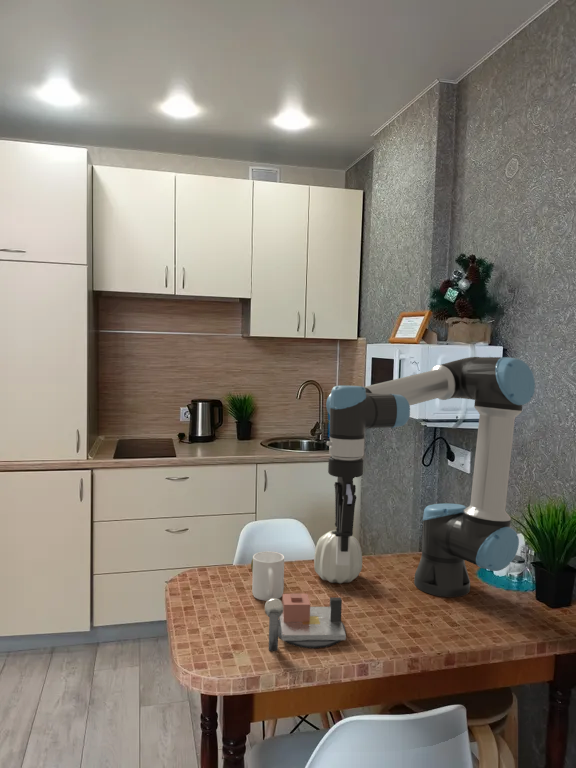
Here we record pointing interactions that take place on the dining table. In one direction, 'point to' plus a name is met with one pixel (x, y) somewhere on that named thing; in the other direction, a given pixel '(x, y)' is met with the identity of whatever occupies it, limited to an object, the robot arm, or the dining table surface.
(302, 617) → the cover
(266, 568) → the mug
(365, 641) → the dining table surface
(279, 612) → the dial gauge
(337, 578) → the vase
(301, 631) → the turntable
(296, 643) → the turntable base
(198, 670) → the dining table surface
